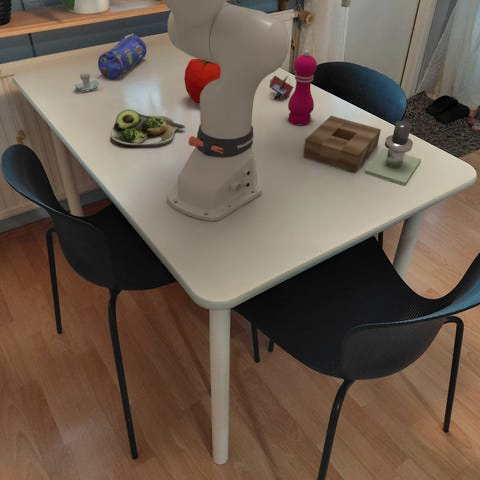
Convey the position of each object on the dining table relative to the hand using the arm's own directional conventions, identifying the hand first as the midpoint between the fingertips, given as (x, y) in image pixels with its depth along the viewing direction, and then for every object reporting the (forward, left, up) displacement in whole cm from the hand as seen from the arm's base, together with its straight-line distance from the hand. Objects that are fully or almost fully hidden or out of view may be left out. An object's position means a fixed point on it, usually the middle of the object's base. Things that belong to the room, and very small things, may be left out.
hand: (326, 2), depth 115 cm
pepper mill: (+7, +7, -34) cm, 36 cm away
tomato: (+2, +36, -34) cm, 49 cm away
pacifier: (-11, +71, -34) cm, 80 cm away
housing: (-3, -10, -34) cm, 36 cm away
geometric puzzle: (+18, +19, -34) cm, 43 cm away
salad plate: (-24, +39, -35) cm, 57 cm away
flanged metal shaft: (-3, -24, -33) cm, 41 cm away
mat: (-3, -24, -34) cm, 42 cm away
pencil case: (+8, +73, -34) cm, 81 cm away
